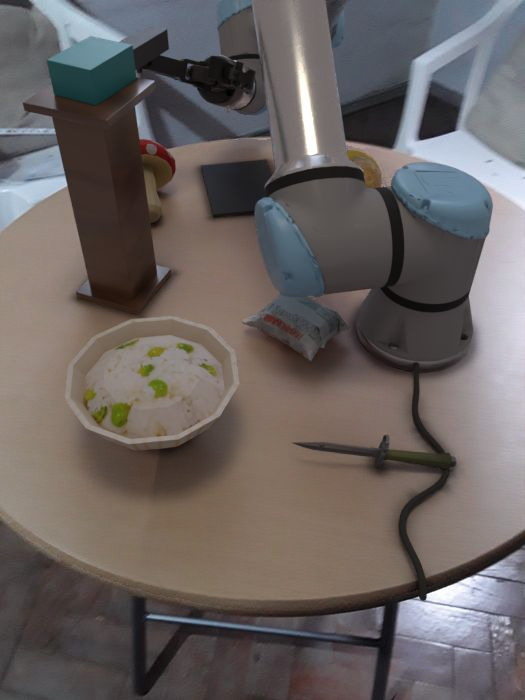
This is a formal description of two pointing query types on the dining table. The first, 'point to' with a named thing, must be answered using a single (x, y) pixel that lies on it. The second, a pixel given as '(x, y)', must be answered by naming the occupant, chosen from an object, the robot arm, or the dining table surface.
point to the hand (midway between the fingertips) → (166, 58)
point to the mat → (235, 186)
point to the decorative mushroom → (156, 173)
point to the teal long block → (104, 64)
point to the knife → (386, 453)
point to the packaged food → (298, 323)
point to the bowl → (152, 382)
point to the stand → (107, 193)
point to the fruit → (367, 168)
